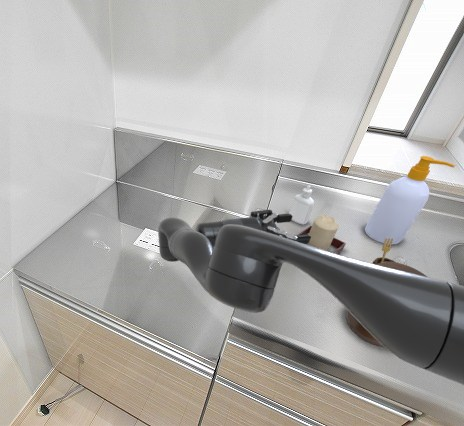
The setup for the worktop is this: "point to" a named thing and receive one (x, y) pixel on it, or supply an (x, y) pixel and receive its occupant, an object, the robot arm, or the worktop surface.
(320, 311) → the worktop surface
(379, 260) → the utensil holder
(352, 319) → the candle stand
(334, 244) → the dark red square frame
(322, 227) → the candle
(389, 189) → the soap bottle
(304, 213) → the eye dropper bottle
